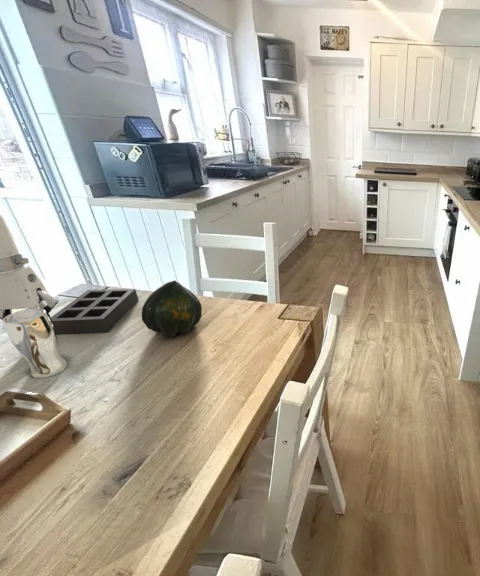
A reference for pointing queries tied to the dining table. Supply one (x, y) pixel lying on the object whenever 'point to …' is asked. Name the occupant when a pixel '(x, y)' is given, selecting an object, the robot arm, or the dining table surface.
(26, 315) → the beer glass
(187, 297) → the squash
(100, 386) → the dining table surface
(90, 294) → the holder
